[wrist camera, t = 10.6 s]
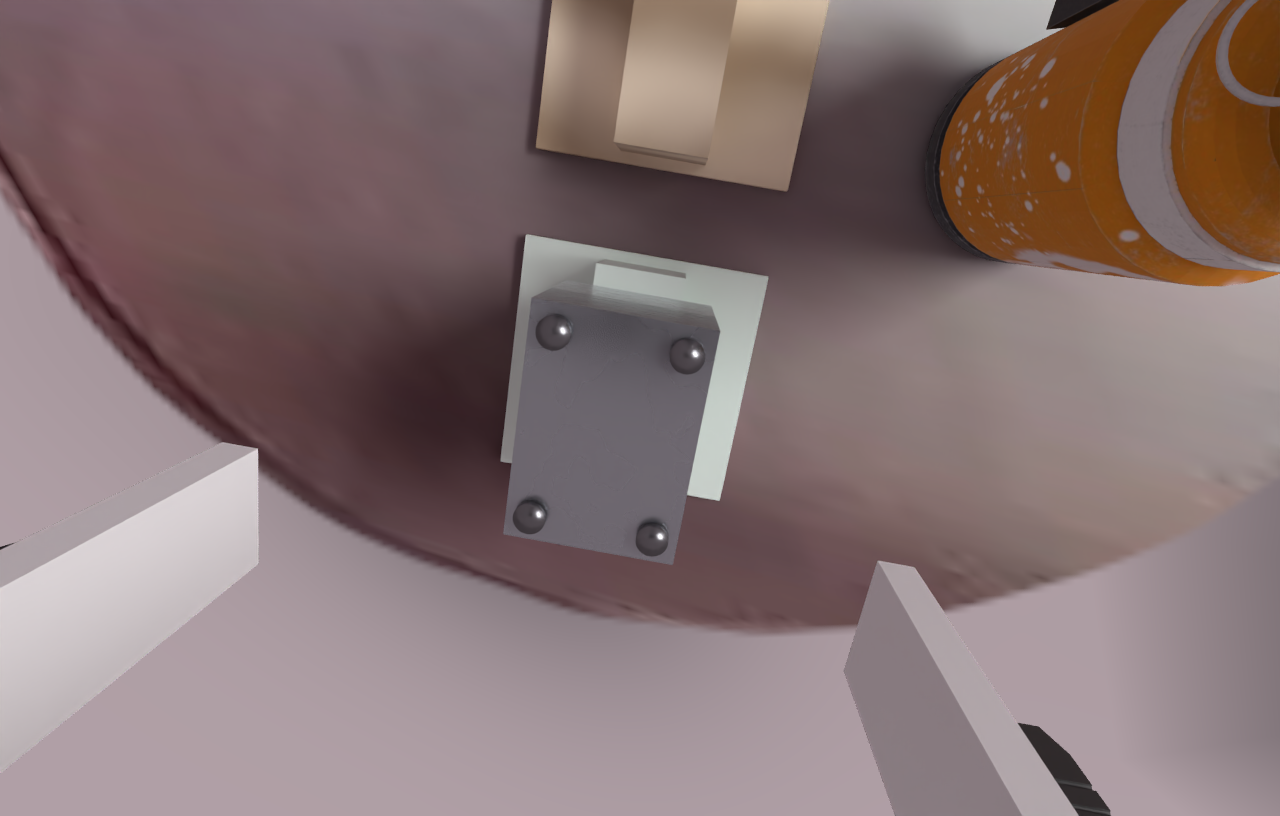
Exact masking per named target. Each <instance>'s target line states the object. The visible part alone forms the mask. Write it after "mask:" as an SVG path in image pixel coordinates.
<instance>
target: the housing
mask: <svg viewBox="0 0 1280 816" xmlns="http://www.w3.org/2000/svg"><path fill="white" fill-rule="evenodd" d="M719 336H720V328H719V326H718V323H717V320H716V317H715V315H714V312H713V309H712V306H710V305H704V304H698V303H693V302H687V301H681V300H676V299H670V298H664V297H659V296H653V295H647V294H642V293H636V292H630V291H625V290H619V289H613V288H608V287H602V286H596V285H591V284H585V283H579V282H574V281H568V280H566V281H564V282H562V283H560V284H558V285H556V286H554V287H552V288H550V289H548V290H546V291H544V292H542V293H540V294H538V295H536V296H534V297H532V298H531V305H530V314H529V322H528V331H527V339H526V347H525V356H524V364H523V373H522V381H521V389H520V398H519V406H518V415H517V423H516V432H515V440H514V448H513V457H512V465H511V474H510V482H509V490H508V499H507V507H506V516H505V524H504V533H503V534H505V535H511V536H516V537H522V538H527V539H533V540H538V541H544V542H549V543H555V544H560V545H566V546H571V547H577V548H582V549H588V550H593V551H599V552H604V553H610V554H615V555H621V556H626V557H632V558H637V559H643V560H648V561H654V562H659V563H665V564H670V565H673V561H674V556H675V551H676V546H677V541H678V536H679V531H680V527H681V522H682V517H683V512H684V507H685V502H686V497H687V492H688V487H689V482H690V478H691V473H692V468H693V463H694V458H695V453H696V448H697V443H698V438H699V434H700V429H701V424H702V419H703V414H704V409H705V404H706V399H707V394H708V390H709V385H710V380H711V375H712V370H713V365H714V360H715V355H716V350H717V345H718V341H719Z"/></svg>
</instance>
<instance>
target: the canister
mask: <svg viewBox="0 0 1280 816" xmlns="http://www.w3.org/2000/svg"><path fill="white" fill-rule="evenodd" d="M1065 27H1066V28H1065ZM1056 28H1064V29H1062V30H1060V31H1058V32H1056V33H1054V34H1052V35H1050V36H1048V37H1046V38H1044V39H1042V40H1040V41H1038V42H1036V43H1034V44H1033V45H1031V46H1029V47H1027V48H1025V49H1023V50H1021V51H1019V52H1017V53H1015V54H1013V55H1011V56H1009V57H1007V58H1005V59H1003V60H1001V61H999V62H997V63H995V64H994V65H992V66H990V67H988V68H986V69H985V70H983V71H982V72H980V73H979V74H978V75H976V76H975V77H974V78H972V79H971V80H970V81H969V82H968V83H967V84H966V85H965V86H964V87H963V88H962V89H961V90H960V91H958V93H957V94H956V95H955V96H954V98H953V99H952V100H951V102H950V103H949V104H948V105H947V107H946V109H945V110H944V112H943V114H942V115H941V117H940V119H939V120H938V122H937V125H936V127H935V130H934V132H933V134H932V137H931V140H930V144H929V148H928V152H927V158H926V167H925V180H926V190H927V195H928V200H929V203H930V206H931V208H932V211H933V214H934V216H935V218H936V219H937V221H938V223H939V224H940V226H941V228H942V229H943V230H944V231H945V232H946V234H947V235H948V236H949V237H950V238H951V239H952V240H953V241H954V242H955V243H957V244H958V245H959V246H960V247H962V248H963V249H965V250H967V251H969V252H970V253H972V254H974V255H976V256H979V257H982V258H985V259H988V260H992V261H999V262H1005V263H1013V264H1022V265H1030V266H1038V267H1046V268H1054V269H1063V270H1071V271H1079V272H1087V273H1096V274H1104V275H1112V276H1120V277H1129V278H1137V279H1145V280H1153V281H1162V282H1170V283H1178V284H1186V285H1195V286H1229V285H1236V284H1243V283H1250V282H1254V281H1257V280H1261V279H1264V278H1268V277H1271V276H1274V275H1278V274H1280V0H1056V2H1055V5H1054V8H1053V11H1052V14H1051V17H1050V20H1049V23H1048V26H1047V29H1056Z"/></svg>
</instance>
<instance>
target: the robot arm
mask: <svg viewBox="0 0 1280 816" xmlns="http://www.w3.org/2000/svg"><path fill="white" fill-rule="evenodd" d="M258 545H259V532H258V449H257V448H251V447H245V446H240V445H234V444H229V443H223V442H222V443H220V444H218V445H216V446H214V447H212V448H210V449H208V450H205V451H204V452H201V453H199V454H197V455H195V456H193V457H191V458H189V459H187V460H185V461H183V462H181V463H179V464H177V465H174V466H172V467H171V468H168V469H167V470H164V471H162V472H160V473H158V474H156V475H154V476H152V477H150V478H148V479H146V480H144V481H142V482H139V483H138V484H135V485H133V486H131V487H129V488H127V489H125V490H123V491H121V492H119V493H117V494H115V495H113V496H111V497H109V498H107V499H104V500H103V501H100V502H98V503H96V504H94V505H92V506H90V507H88V508H86V509H84V510H82V511H80V512H78V513H76V514H74V515H71V516H70V517H67V518H65V519H63V520H61V521H59V522H57V523H55V524H53V525H51V526H49V527H47V528H45V529H43V530H41V531H38V532H36V533H35V534H32V535H30V536H28V537H26V538H24V539H22V540H20V541H18V542H16V543H12V544H9V545H5V546H2V547H0V774H1V773H2V772H3V771H4V770H5V769H7V768H8V767H9V766H10V765H11V764H13V763H14V762H15V761H17V760H18V759H19V758H20V757H21V756H23V755H24V754H25V753H26V752H28V751H29V750H30V749H31V748H32V747H34V746H35V745H36V744H37V743H39V742H40V741H41V740H42V739H44V738H45V737H46V736H47V735H49V734H50V733H51V732H52V731H53V730H55V729H56V728H57V727H58V726H59V725H61V724H62V723H63V722H64V721H66V720H67V719H68V718H69V717H71V716H72V715H73V714H74V713H76V712H77V711H78V710H79V709H81V708H82V707H83V706H84V705H85V704H87V703H88V702H89V701H90V700H91V699H93V698H94V697H95V696H96V695H98V694H99V693H100V692H101V691H103V690H104V689H105V688H106V687H107V686H109V685H110V684H111V683H112V682H114V681H115V680H116V679H117V678H119V677H120V676H121V675H122V674H123V673H125V672H126V671H127V670H129V669H130V668H131V667H132V666H133V665H135V664H136V663H137V662H138V661H140V660H141V659H142V658H143V657H144V656H146V655H147V654H148V653H149V652H151V651H152V650H153V649H154V648H155V647H157V646H158V645H159V644H161V643H162V642H163V641H164V640H165V639H167V638H168V637H169V636H170V635H172V634H173V633H174V632H175V631H176V630H178V629H179V628H180V627H181V626H183V625H184V624H185V623H186V622H188V621H189V620H190V619H191V618H192V617H194V616H195V615H196V614H197V613H199V612H200V611H201V610H202V609H204V608H205V607H206V606H207V605H209V604H210V603H211V602H212V601H213V600H215V599H216V598H217V597H218V596H220V595H221V594H222V593H223V592H225V591H226V590H227V589H228V588H229V587H231V586H232V585H233V584H234V583H236V582H237V581H238V580H239V579H240V578H242V577H243V576H244V575H245V574H247V573H248V572H249V571H250V570H252V569H253V568H254V567H255V566H257V565H258V564H259V546H258ZM844 673H845V676H846V679H847V682H848V684H849V687H850V690H851V693H852V696H853V699H854V701H855V704H856V707H857V710H858V713H859V716H860V718H861V721H862V724H863V727H864V730H865V732H866V735H867V738H868V741H869V743H870V746H871V749H872V752H873V755H874V758H875V760H876V764H877V766H878V769H879V772H880V775H881V778H882V781H883V783H884V786H885V789H886V792H887V795H888V797H889V800H890V803H891V806H892V809H893V811H894V814H895V816H1111V815H1110V809H1109V808H1108V807H1107V806H1106V804H1105V803H1104V801H1103V800H1102V798H1101V797H1100V796H1099V794H1098V793H1097V792H1096V791H1093V790H1092V787H1091V786H1092V785H1091V783H1090V782H1089V780H1088V779H1087V778H1086V776H1085V775H1084V774H1083V772H1082V771H1081V769H1080V768H1079V767H1078V765H1077V764H1076V762H1075V761H1074V760H1073V758H1072V757H1071V755H1070V754H1069V753H1067V752H1066V751H1065V750H1064V749H1063V748H1062V747H1061V746H1060V745H1059V744H1057V743H1056V742H1055V741H1054V740H1053V739H1052V738H1051V737H1050V736H1048V735H1047V734H1046V733H1045V732H1044V731H1043V730H1042V729H1041V728H1040V727H1038V726H1032V725H1026V724H1021V723H1017V722H1016V720H1015V719H1014V717H1013V716H1012V714H1011V713H1010V711H1009V710H1008V708H1007V706H1006V705H1005V703H1004V702H1003V701H1002V699H1001V697H1000V696H999V695H998V693H997V691H996V690H995V688H994V687H993V685H992V684H991V682H990V681H989V679H988V678H987V676H986V675H985V673H984V672H983V670H982V669H981V667H980V666H979V664H978V663H977V661H976V660H975V658H974V657H973V655H972V654H971V652H970V651H969V649H968V648H967V646H966V645H965V643H964V642H963V640H962V638H961V637H960V635H959V634H958V633H957V631H956V629H955V628H954V627H953V625H952V623H951V622H950V620H949V619H948V617H947V616H946V614H945V613H944V611H943V610H942V608H941V607H940V605H939V604H938V602H937V601H936V599H935V598H934V596H933V595H932V593H931V592H930V590H929V589H928V587H927V586H926V584H925V583H924V581H923V580H922V578H921V576H920V575H919V573H918V572H917V570H916V569H915V567H910V566H905V565H899V564H893V563H888V562H882V561H877V564H876V568H875V571H874V574H873V577H872V581H871V584H870V587H869V590H868V594H867V597H866V600H865V603H864V607H863V610H862V613H861V616H860V620H859V623H858V626H857V629H856V633H855V636H854V639H853V642H852V646H851V649H850V652H849V655H848V659H847V662H846V665H845V669H844Z"/></svg>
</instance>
